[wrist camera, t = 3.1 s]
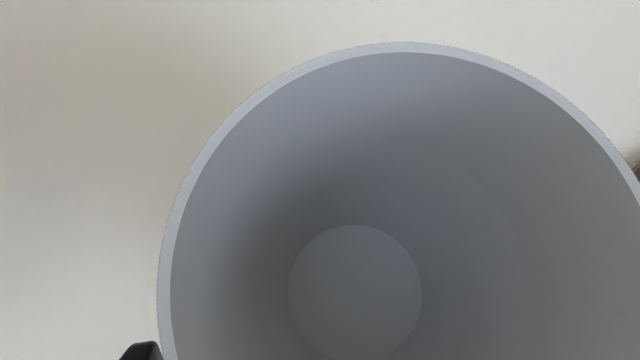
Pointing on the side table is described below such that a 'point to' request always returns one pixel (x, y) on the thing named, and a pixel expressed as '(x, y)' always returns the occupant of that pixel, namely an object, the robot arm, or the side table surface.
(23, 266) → the side table surface
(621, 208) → the cup
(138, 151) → the side table surface
